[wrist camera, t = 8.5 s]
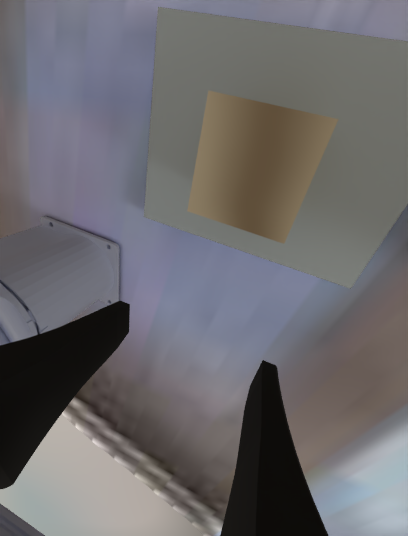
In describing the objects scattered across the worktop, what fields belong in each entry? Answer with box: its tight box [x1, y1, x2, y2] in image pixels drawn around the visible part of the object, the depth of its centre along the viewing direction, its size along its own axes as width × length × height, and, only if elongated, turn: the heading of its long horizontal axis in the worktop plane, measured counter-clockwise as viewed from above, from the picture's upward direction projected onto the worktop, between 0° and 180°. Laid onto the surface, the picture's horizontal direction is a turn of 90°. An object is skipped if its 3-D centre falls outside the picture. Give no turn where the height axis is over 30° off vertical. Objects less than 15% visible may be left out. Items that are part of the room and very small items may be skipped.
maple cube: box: [187, 90, 338, 244], centre depth 12 cm, size 5×5×5 cm
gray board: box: [144, 7, 408, 289], centre depth 15 cm, size 16×12×1 cm
